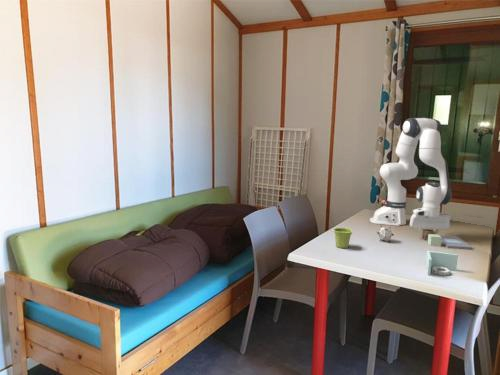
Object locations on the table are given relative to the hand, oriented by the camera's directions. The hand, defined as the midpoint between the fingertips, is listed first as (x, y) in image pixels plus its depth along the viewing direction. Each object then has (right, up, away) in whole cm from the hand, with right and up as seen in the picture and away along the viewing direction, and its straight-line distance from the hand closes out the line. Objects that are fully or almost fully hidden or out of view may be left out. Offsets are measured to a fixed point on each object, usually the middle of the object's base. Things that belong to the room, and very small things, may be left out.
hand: (428, 236), depth 212 cm
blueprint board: (+10, -3, -6) cm, 12 cm away
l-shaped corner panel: (-17, -10, -49) cm, 53 cm away
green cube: (-1, -3, -10) cm, 10 cm away
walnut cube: (0, -2, 0) cm, 2 cm away
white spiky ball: (-26, -2, -5) cm, 27 cm away
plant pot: (-52, -3, -17) cm, 55 cm away
